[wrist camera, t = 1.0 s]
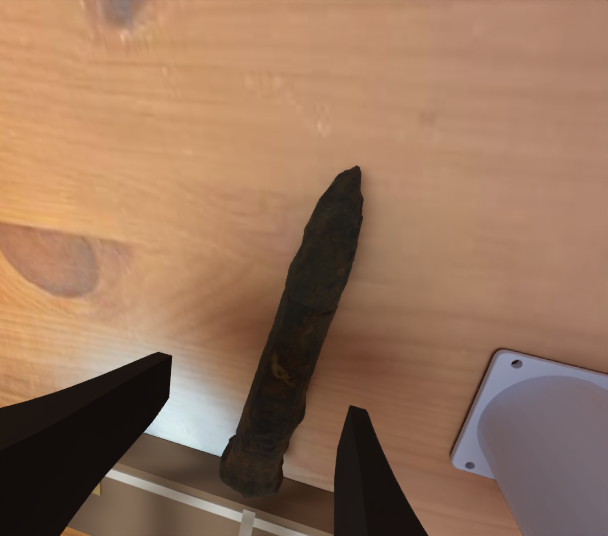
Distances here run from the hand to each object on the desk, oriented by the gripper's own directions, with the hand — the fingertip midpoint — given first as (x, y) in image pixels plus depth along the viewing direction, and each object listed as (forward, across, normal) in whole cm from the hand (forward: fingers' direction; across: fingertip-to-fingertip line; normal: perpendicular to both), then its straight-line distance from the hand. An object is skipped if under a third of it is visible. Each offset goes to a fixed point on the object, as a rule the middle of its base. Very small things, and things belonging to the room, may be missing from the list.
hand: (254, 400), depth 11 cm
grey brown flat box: (+6, +5, +16) cm, 18 cm away
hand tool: (+7, 0, 0) cm, 7 cm away
